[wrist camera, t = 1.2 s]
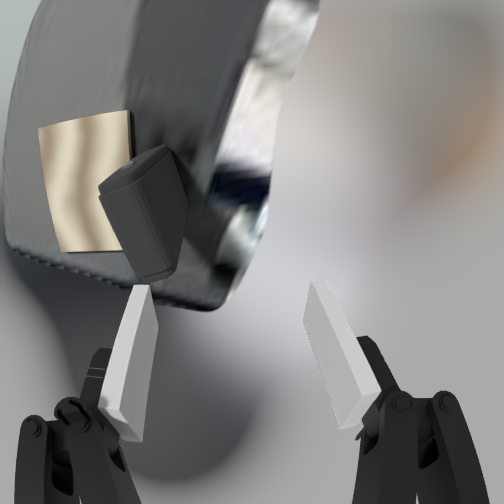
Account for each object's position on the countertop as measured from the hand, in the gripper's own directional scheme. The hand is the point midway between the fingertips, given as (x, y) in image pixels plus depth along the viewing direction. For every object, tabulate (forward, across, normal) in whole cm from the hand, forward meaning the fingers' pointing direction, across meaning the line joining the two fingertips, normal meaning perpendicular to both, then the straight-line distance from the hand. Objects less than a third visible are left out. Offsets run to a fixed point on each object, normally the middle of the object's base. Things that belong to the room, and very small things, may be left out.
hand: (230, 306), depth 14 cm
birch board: (+23, -18, 0) cm, 29 cm away
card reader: (+23, -7, 0) cm, 24 cm away
